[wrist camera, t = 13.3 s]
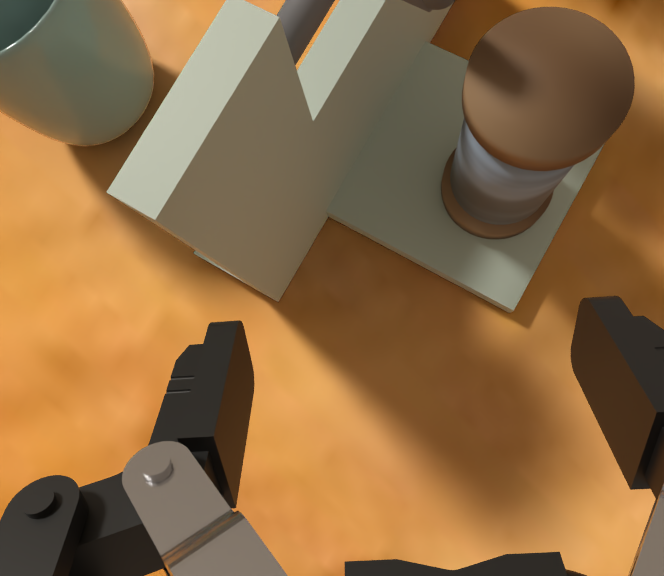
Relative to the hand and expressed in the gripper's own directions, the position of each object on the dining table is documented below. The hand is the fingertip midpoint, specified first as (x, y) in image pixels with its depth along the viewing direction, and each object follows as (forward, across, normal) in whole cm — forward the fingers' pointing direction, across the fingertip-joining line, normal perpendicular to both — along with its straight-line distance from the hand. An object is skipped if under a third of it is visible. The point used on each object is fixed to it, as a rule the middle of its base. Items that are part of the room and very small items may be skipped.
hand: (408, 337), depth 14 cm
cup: (+21, +14, 0) cm, 26 cm away
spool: (+14, -6, +4) cm, 16 cm away
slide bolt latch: (+17, -3, +3) cm, 17 cm away
